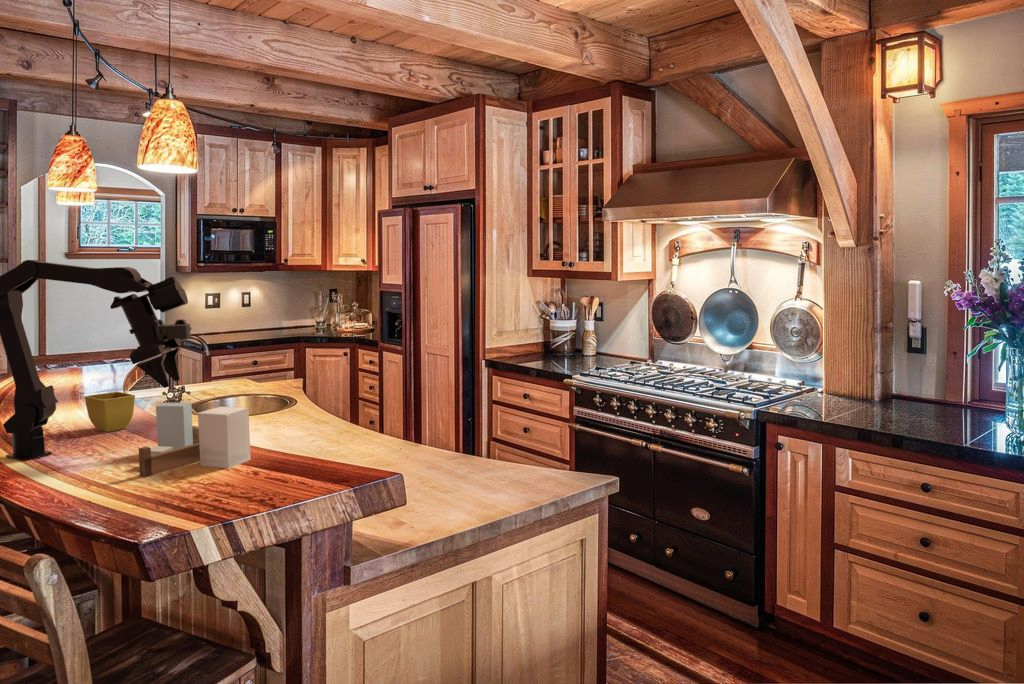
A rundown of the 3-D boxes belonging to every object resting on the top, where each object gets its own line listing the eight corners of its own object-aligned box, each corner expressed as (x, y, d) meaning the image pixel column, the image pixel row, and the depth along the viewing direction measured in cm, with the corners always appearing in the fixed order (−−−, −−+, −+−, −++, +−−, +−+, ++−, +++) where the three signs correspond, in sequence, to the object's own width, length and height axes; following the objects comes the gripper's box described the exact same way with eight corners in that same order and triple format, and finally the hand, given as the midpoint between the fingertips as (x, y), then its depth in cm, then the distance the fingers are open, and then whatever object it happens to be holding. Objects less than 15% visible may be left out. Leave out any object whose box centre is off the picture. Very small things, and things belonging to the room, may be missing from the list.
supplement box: (252, 466, 158) (250, 407, 157) (228, 475, 151) (226, 414, 150) (223, 463, 160) (221, 405, 159) (199, 472, 153) (196, 412, 152)
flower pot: (137, 428, 193) (136, 394, 192) (104, 435, 186) (102, 399, 185) (118, 424, 198) (117, 391, 197) (85, 430, 190) (83, 396, 190)
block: (158, 459, 163) (155, 406, 161) (166, 455, 167) (164, 402, 165) (185, 460, 163) (183, 406, 161) (193, 455, 167) (191, 402, 165)
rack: (86, 473, 152) (84, 439, 151) (188, 446, 175) (187, 416, 174) (145, 484, 145) (143, 449, 144) (244, 454, 167) (243, 424, 167)
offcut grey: (143, 458, 151) (143, 450, 151) (154, 453, 155) (154, 446, 155) (162, 458, 151) (161, 451, 150) (173, 453, 154) (172, 446, 154)
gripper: (167, 309, 158) (197, 376, 161) (188, 305, 177) (215, 365, 179) (115, 329, 157) (146, 396, 160) (142, 322, 175) (170, 382, 178)
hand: (172, 383), depth 169 cm, fingers open, 9 cm apart
